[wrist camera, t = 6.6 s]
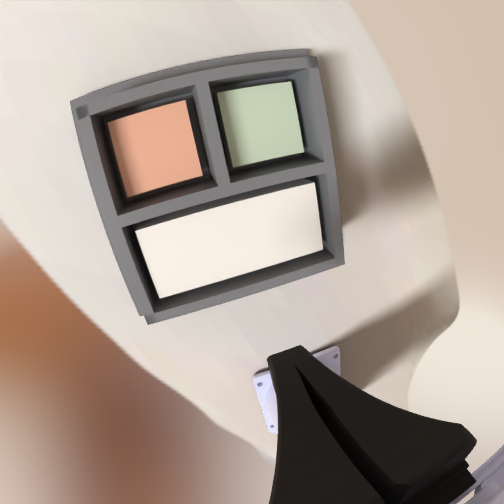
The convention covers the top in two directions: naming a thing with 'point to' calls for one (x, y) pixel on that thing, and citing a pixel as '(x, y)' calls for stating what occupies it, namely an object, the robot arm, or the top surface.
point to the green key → (258, 123)
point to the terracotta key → (155, 148)
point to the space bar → (230, 236)
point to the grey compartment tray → (209, 169)
